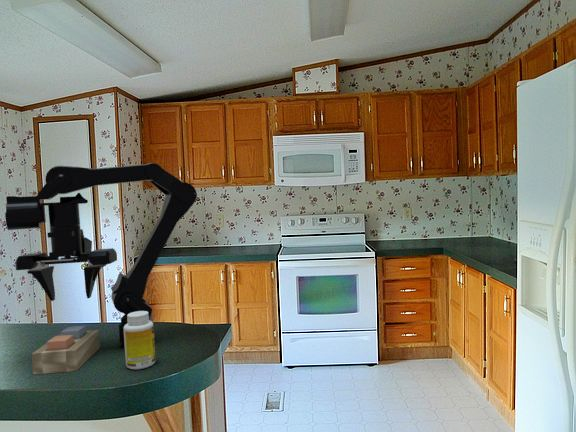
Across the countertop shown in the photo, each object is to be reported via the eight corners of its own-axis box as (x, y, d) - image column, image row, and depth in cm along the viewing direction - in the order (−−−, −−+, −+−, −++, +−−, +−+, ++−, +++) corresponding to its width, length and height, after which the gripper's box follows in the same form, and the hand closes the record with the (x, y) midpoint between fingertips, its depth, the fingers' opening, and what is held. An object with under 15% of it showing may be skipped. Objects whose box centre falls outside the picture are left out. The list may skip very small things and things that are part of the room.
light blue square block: (86, 338, 94) (85, 325, 94) (79, 343, 91) (78, 330, 91) (69, 339, 94) (68, 326, 94) (61, 345, 90) (61, 331, 90)
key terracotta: (74, 348, 88) (73, 334, 88) (67, 354, 84) (65, 340, 84) (56, 349, 88) (54, 336, 87) (47, 356, 84) (46, 342, 84)
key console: (99, 347, 96) (98, 329, 96) (76, 370, 83) (75, 350, 83) (62, 350, 95) (61, 332, 95) (33, 374, 82) (31, 353, 82)
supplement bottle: (159, 365, 84) (156, 313, 83) (129, 373, 81) (125, 319, 80) (151, 357, 89) (148, 308, 88) (123, 364, 86) (119, 313, 85)
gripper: (122, 221, 100) (126, 288, 101) (38, 226, 99) (43, 293, 99) (105, 224, 89) (111, 299, 90) (10, 230, 87) (17, 306, 88)
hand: (71, 299), depth 92 cm, fingers open, 7 cm apart
